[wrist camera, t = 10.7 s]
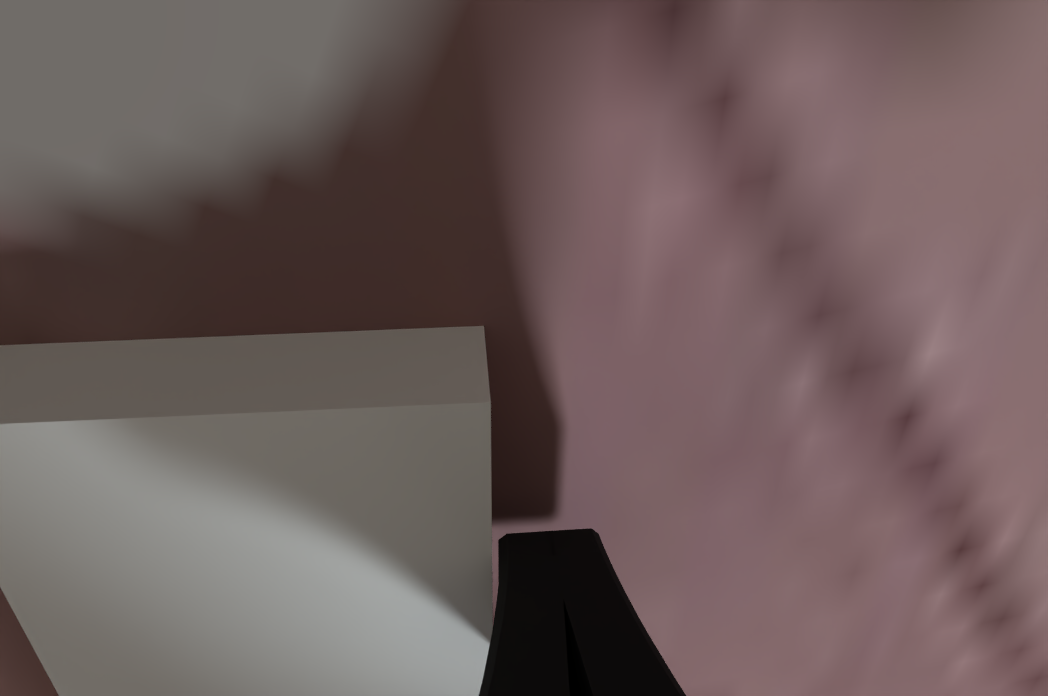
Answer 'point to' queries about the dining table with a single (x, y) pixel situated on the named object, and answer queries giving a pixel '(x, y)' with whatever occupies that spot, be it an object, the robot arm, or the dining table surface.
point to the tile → (251, 512)
